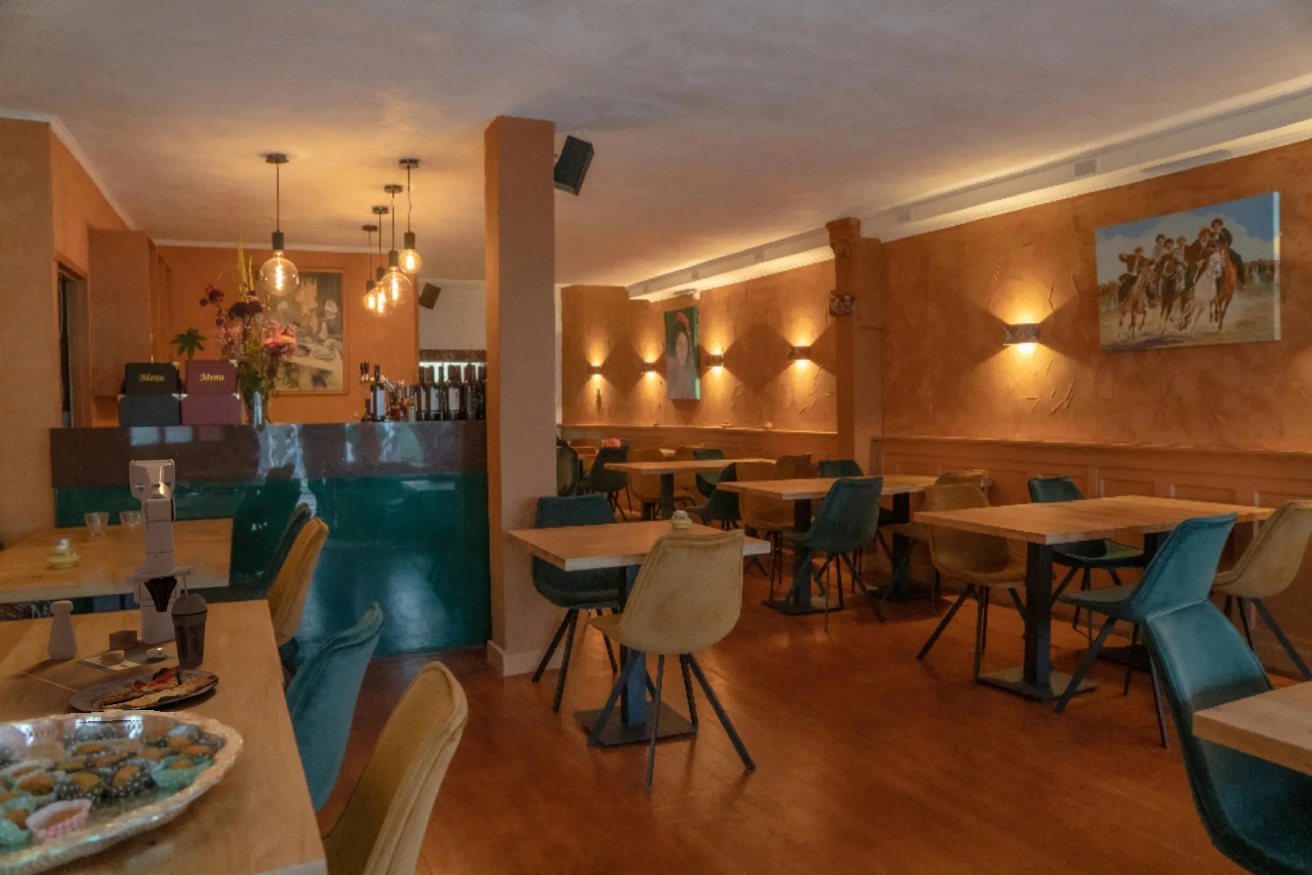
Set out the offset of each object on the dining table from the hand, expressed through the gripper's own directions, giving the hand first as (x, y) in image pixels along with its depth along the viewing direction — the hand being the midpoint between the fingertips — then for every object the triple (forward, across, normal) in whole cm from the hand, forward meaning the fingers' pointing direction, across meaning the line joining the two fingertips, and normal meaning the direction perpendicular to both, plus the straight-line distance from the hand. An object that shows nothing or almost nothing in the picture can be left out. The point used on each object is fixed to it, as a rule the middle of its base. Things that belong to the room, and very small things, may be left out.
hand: (161, 611), depth 207 cm
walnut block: (+10, -2, +14) cm, 17 cm away
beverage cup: (+10, -1, -14) cm, 17 cm away
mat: (+10, -7, +2) cm, 12 cm away
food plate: (+10, -18, -30) cm, 36 cm away
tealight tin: (+10, -3, -4) cm, 11 cm away
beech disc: (+10, -10, +2) cm, 14 cm away
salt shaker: (+10, -14, +16) cm, 24 cm away
